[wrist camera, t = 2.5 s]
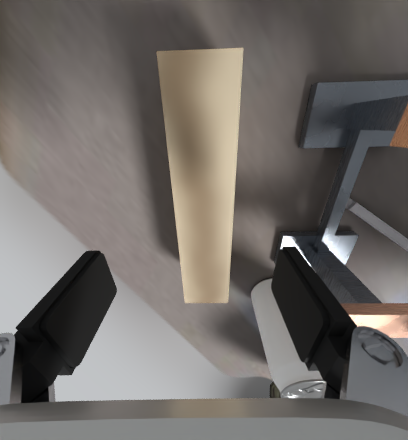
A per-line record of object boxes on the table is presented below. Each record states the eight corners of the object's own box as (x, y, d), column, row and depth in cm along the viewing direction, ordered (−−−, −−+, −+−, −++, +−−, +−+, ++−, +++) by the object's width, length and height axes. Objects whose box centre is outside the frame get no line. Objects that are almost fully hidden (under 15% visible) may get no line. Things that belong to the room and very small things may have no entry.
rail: (230, 74, 15) (243, 47, 10) (223, 266, 26) (228, 302, 20) (173, 76, 15) (156, 51, 10) (189, 266, 26) (185, 302, 21)
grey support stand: (418, 81, 15) (1085, -58, 4) (339, 261, 25) (455, 381, 13) (311, 85, 15) (620, -36, 4) (274, 262, 25) (331, 379, 13)
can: (241, 290, 28) (263, 392, 17) (277, 269, 25) (327, 372, 15) (265, 310, 30) (297, 412, 19) (300, 292, 28) (357, 396, 17)
